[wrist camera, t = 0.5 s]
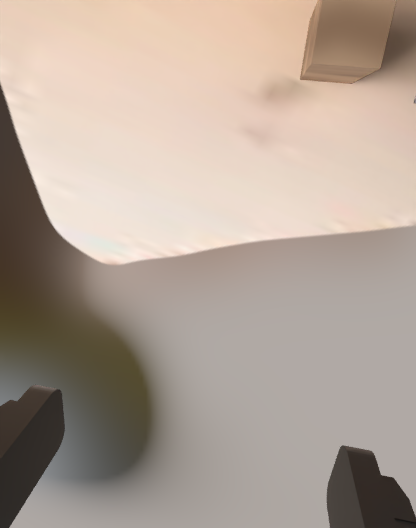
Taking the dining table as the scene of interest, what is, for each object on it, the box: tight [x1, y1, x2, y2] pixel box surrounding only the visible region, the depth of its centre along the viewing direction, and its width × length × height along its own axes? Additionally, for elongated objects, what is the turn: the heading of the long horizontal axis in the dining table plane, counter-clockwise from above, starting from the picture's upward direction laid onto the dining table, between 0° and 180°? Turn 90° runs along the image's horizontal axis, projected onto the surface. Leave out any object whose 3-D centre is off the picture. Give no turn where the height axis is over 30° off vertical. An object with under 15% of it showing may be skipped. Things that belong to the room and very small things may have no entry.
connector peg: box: [300, 0, 396, 84], centre depth 24 cm, size 4×4×8 cm
